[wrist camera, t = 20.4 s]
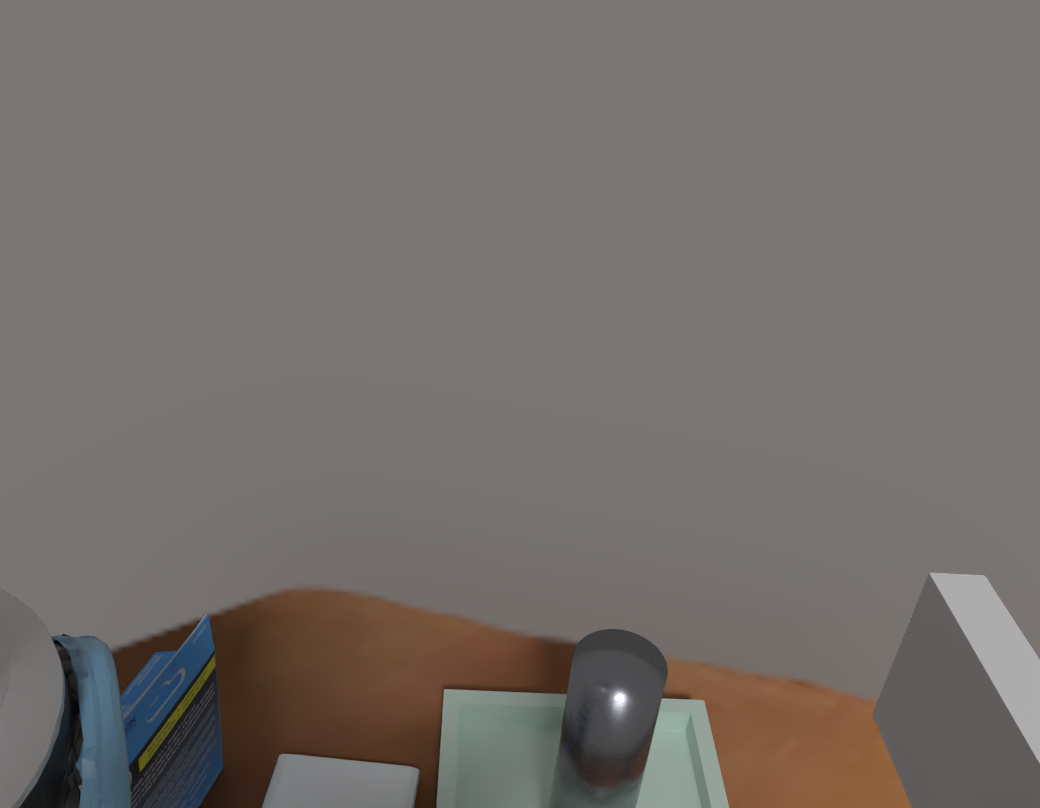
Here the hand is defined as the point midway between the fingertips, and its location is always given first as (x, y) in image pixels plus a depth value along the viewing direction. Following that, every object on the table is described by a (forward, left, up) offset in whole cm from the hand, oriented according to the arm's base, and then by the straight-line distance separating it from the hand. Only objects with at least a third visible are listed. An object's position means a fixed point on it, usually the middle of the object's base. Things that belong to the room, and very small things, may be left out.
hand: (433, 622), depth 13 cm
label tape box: (-15, +23, -38) cm, 47 cm away
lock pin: (+8, +22, -37) cm, 44 cm away
